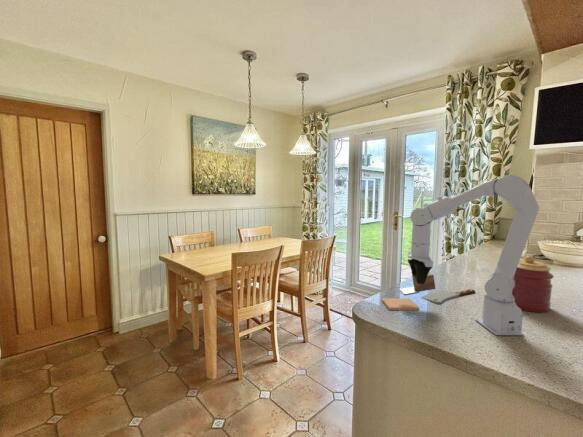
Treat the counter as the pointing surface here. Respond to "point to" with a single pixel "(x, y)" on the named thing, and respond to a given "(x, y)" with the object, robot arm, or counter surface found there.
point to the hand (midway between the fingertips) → (418, 281)
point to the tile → (400, 304)
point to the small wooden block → (419, 285)
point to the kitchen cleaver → (445, 295)
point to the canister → (532, 285)
